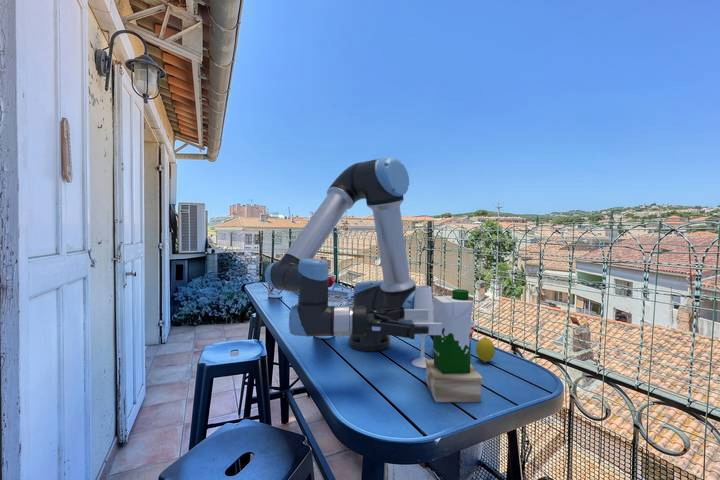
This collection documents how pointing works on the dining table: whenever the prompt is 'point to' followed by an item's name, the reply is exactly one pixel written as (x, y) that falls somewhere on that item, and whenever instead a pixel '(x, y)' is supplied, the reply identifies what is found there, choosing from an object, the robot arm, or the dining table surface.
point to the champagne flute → (423, 302)
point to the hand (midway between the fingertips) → (434, 321)
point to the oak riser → (453, 384)
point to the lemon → (485, 349)
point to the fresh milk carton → (453, 332)
